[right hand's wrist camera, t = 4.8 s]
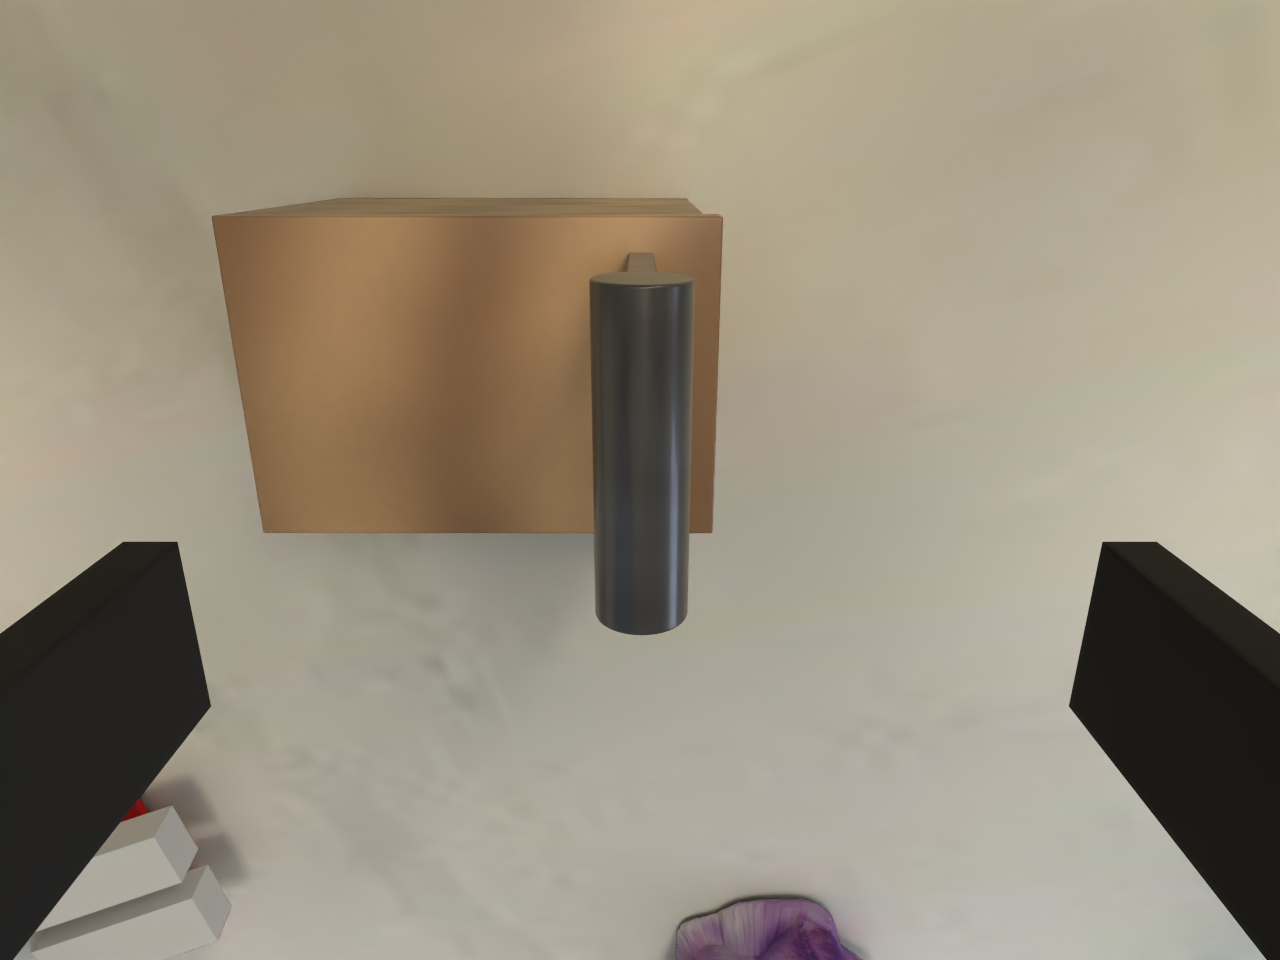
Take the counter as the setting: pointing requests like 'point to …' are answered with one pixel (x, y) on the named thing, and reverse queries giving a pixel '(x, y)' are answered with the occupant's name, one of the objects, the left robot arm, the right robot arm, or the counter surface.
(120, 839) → the toy
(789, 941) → the figurine
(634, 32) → the counter surface
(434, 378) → the lid
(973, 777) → the counter surface
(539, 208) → the chest
